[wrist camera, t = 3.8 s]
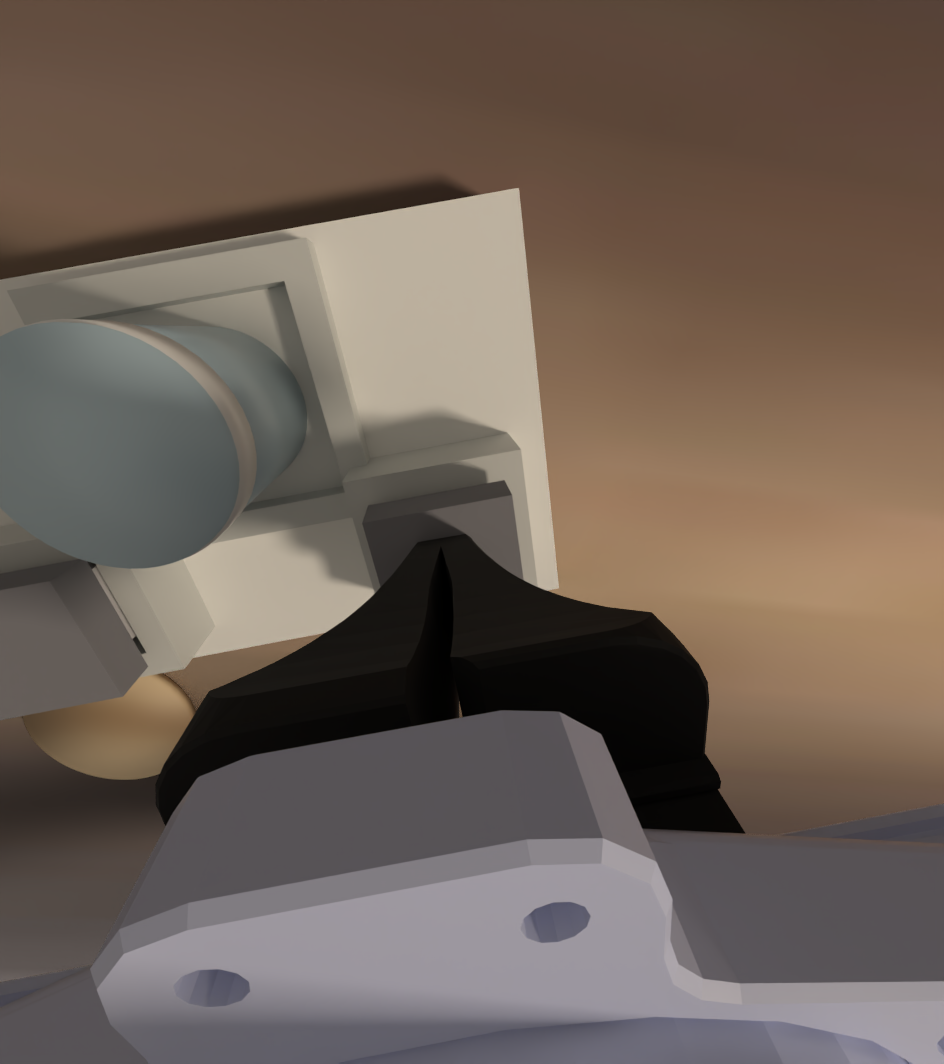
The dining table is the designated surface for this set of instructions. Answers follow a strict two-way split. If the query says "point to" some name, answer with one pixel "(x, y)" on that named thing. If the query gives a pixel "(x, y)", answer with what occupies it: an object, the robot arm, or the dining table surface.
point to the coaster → (117, 730)
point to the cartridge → (140, 435)
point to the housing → (330, 405)
